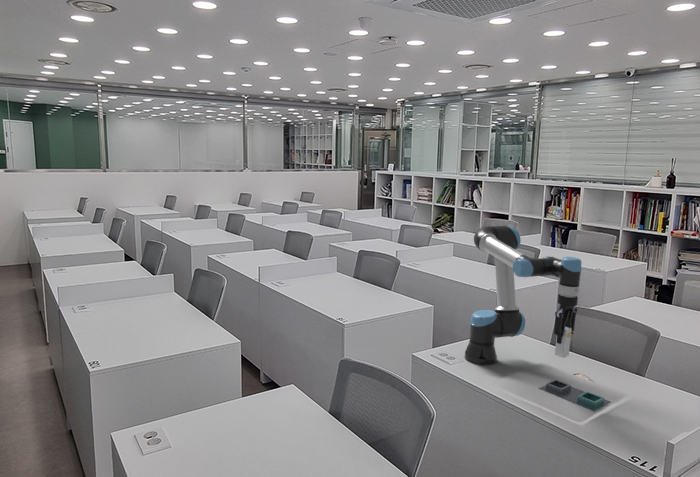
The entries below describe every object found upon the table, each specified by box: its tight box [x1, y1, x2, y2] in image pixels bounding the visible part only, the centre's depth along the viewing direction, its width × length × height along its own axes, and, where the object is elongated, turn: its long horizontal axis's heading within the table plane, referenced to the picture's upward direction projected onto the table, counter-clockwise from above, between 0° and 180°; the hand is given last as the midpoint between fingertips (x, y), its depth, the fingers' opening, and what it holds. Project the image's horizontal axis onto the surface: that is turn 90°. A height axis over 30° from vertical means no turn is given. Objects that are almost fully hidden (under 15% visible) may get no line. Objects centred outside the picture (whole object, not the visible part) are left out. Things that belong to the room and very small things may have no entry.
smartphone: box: [572, 373, 595, 383], centre depth 228 cm, size 1×7×15 cm
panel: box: [538, 379, 611, 412], centre depth 213 cm, size 24×14×3 cm, turn 38°
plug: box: [554, 326, 572, 359], centre depth 215 cm, size 5×4×12 cm
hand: (562, 349), depth 215 cm, fingers closed on plug, 4 cm apart
